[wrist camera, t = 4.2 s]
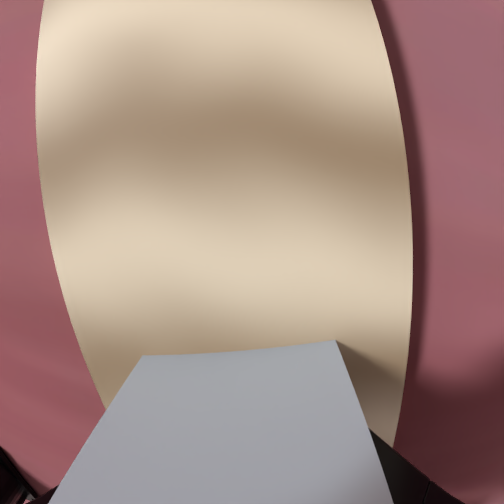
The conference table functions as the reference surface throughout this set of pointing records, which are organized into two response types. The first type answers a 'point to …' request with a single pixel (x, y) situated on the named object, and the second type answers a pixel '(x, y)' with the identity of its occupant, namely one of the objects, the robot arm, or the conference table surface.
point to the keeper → (231, 434)
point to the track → (227, 184)
